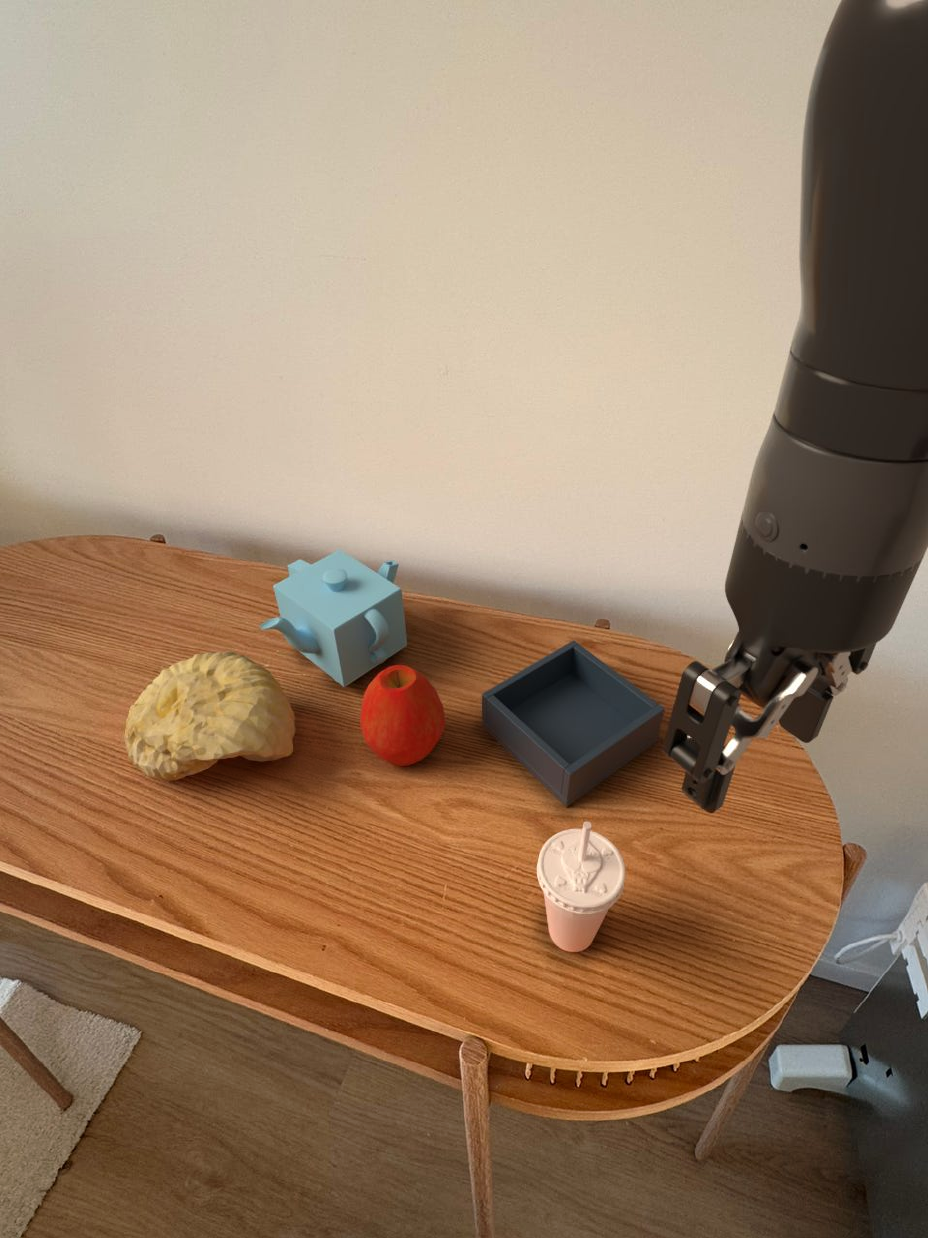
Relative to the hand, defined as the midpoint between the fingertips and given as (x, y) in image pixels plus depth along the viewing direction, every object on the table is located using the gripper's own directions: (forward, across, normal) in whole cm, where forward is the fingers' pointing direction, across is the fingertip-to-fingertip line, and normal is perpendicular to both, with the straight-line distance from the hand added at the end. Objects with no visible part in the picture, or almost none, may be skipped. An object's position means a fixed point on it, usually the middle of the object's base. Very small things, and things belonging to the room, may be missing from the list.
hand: (750, 764), depth 42 cm
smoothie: (+24, -5, +7) cm, 25 cm away
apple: (+23, -6, +31) cm, 39 cm away
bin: (+23, +8, +23) cm, 33 cm away
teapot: (+22, -5, +47) cm, 52 cm away
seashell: (+23, -22, +42) cm, 52 cm away
